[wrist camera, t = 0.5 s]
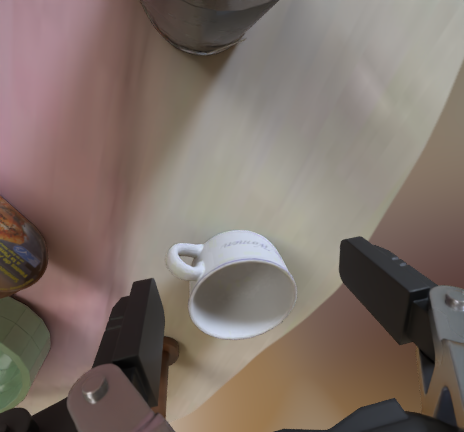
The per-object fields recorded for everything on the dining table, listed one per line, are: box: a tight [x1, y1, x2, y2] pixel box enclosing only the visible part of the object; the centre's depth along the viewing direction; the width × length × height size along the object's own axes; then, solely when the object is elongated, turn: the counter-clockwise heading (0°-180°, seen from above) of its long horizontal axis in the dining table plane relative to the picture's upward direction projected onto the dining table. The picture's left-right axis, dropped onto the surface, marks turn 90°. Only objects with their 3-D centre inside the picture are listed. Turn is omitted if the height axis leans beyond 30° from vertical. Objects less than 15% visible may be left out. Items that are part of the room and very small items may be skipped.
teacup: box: [165, 230, 297, 340], centre depth 28 cm, size 14×11×8 cm
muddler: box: [151, 337, 179, 418], centre depth 31 cm, size 5×5×14 cm
